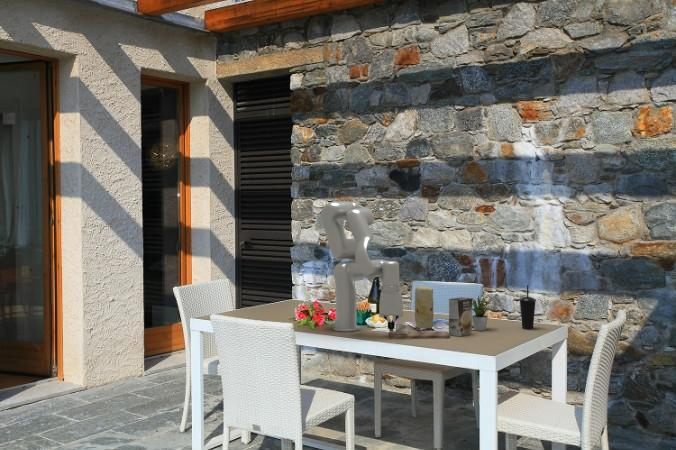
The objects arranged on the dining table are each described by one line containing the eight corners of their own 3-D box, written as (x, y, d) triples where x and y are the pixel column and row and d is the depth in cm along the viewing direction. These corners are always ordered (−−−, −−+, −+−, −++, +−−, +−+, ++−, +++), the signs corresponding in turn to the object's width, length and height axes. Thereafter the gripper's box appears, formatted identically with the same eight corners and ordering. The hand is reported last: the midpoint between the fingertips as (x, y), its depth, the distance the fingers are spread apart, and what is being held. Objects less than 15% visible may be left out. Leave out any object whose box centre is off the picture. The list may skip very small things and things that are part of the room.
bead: (396, 334, 321) (396, 325, 321) (395, 331, 327) (395, 322, 327) (408, 334, 321) (407, 325, 321) (406, 331, 327) (406, 322, 327)
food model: (436, 328, 342) (436, 286, 341) (429, 331, 337) (428, 287, 336) (418, 326, 348) (418, 284, 347) (411, 328, 343) (410, 286, 342)
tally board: (390, 338, 320) (389, 335, 319) (388, 334, 330) (388, 331, 329) (449, 338, 319) (449, 335, 319) (446, 333, 329) (446, 330, 329)
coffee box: (459, 336, 323) (459, 300, 322) (448, 334, 327) (448, 298, 327) (472, 333, 329) (472, 298, 328) (461, 332, 334) (461, 296, 333)
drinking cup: (517, 329, 339) (517, 286, 338) (521, 326, 346) (521, 284, 345) (534, 330, 335) (534, 286, 335) (537, 327, 342) (537, 285, 341)
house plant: (496, 333, 330) (496, 297, 329) (465, 332, 332) (465, 296, 332) (496, 327, 343) (496, 292, 343) (466, 326, 346) (466, 292, 346)
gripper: (374, 290, 320) (374, 332, 321) (408, 290, 320) (408, 331, 320) (373, 288, 328) (374, 329, 328) (407, 287, 327) (407, 328, 328)
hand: (391, 330), depth 324 cm, fingers closed
